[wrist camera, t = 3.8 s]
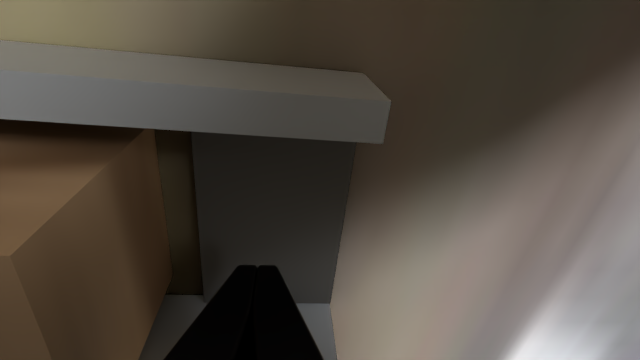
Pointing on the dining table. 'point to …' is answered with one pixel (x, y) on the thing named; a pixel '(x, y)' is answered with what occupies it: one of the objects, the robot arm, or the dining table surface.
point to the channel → (224, 156)
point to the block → (79, 241)
